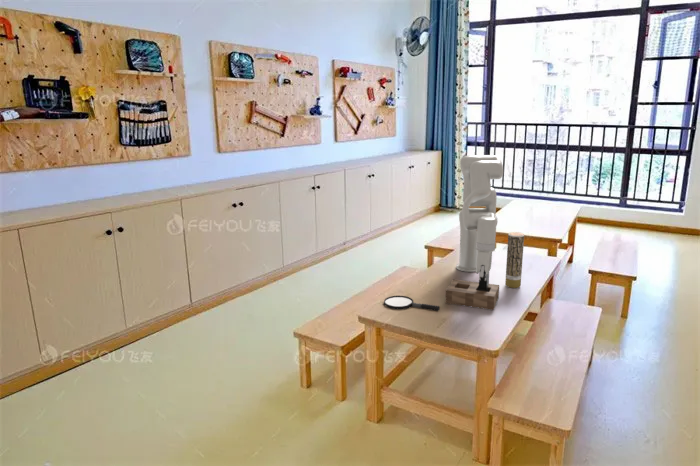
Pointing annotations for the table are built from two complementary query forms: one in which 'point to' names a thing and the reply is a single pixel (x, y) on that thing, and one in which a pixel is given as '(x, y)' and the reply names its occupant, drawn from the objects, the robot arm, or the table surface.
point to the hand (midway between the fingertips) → (483, 287)
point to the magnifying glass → (406, 303)
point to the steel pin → (487, 282)
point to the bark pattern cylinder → (514, 259)
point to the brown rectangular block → (472, 294)
